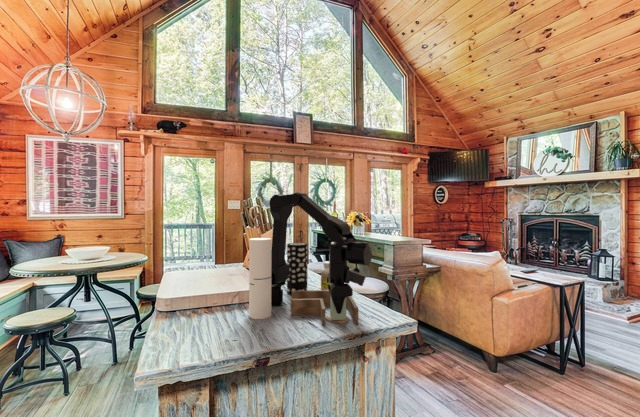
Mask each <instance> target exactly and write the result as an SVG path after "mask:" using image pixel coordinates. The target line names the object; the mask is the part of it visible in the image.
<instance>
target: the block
mask: <svg viewBox="0 0 640 417" xmlns="http://www.w3.org/2000/svg"><path fill="white" fill-rule="evenodd" d="M329 308H330V309H329V313H330V315H329V316H331V319H332V320H346V316H347V307H346V298H345V299H344V303H343V307H342V311H341V314H337V311H336V308H335V306H334V303H333V300H332V297H331V295H330V305H329Z"/></svg>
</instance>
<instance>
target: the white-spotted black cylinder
mask: <svg viewBox="0 0 640 417" xmlns="http://www.w3.org/2000/svg"><path fill="white" fill-rule="evenodd" d="M286 248H287V250H286V251H287V252H286V255H287V257H286V260H287V261H286V263H287V264H290V270H289V273H290V275H289V276H288V279H287V280H286V293H287V294H288V295H291V296H292V291H308V243H306V242H304V243H303V242H290V243H287V244H286Z"/></svg>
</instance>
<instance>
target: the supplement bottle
mask: <svg viewBox="0 0 640 417" xmlns="http://www.w3.org/2000/svg"><path fill="white" fill-rule="evenodd" d="M328 273H329V260H326V261H323V267H322V268H321V271H320V290H329V289H328V286H327V285H330V282H329V283H327V282H326V275H327V274H328Z"/></svg>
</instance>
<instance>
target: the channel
mask: <svg viewBox="0 0 640 417" xmlns="http://www.w3.org/2000/svg"><path fill="white" fill-rule="evenodd" d="M325 305H327V306H330V292H329V290H321V289H318V290H316V289H315V290H311V289H310V290H308V289H307V291H292V295H291V299H290V316H309V315H310V316H314V315H315V316H317V315H319V317H320V322H321V326H326V319H327V321H328V322H329V323H333V324H346V323H348V322H349V321H350V317H351V319H352V321H353V324H354V325H355V326H358V325H359V307H358V305H357V304H356V301H355V300H354V298H353V296H347V297H346V310H347V311H348V313H349V315H350V317H349V316H348V315H346V320H332V319H331V316H330V315H328V316H327V317H326V306H325Z"/></svg>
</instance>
